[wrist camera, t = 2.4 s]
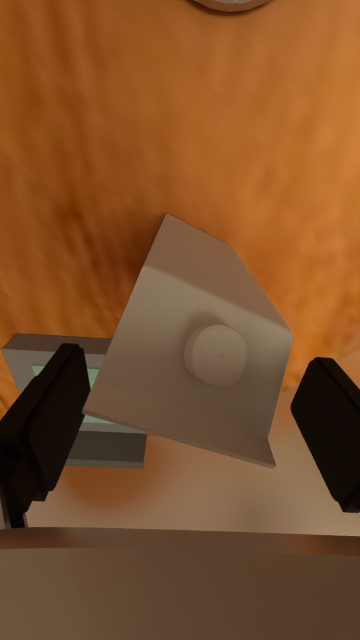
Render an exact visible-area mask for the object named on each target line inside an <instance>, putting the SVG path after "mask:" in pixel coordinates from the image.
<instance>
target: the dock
mask: <svg viewBox="0 0 360 640" xmlns="http://www.w3.org/2000/svg"><path fill="white" fill-rule="evenodd" d="M111 341H112V339H103V338H85V337H68V336H51V335H33V334H16V335H15V336H14V337H13V338H12V339H11V340H10V341H9V342H8V343H7V344H6V345H5V346H4V347H2V348H1V350H2V353H3V355H4V357H5V360H6V362H7V365H8V367H9V369H10V372H11V374H12V377H13V379H14V381H15V384H16V386H17V389H18V391H19V393H20V394H21V393H22V392H23V390H24V389H25V388H26V386H27V385H28V384H29V383H30V381H31V380H32V379H33V378H34V377H35V376H37V375H39V373H40V372H41V371H42V369H43V368H44V367H45V365H46V364H47V363H48V361H49V360H50V359H51V357H52V356H53V355H54V353H55V352H56V351H57V349H58V348H59V347H60V345H61V344H62V343H73V344H79V346H80V348H83V349H84V353H85V359H86V365H87V371H88V376H89V382H90V388H91V389H92V386H93V384H94V382H95V379H96V377H97V375H98V372H99V370H100V367H101V365H102V363H103V360H104V358H105V355H106V353H107V351H108V348H109V346H110V343H111ZM146 439H147V432H144V431H140V430H137V429H133V428H130V427H126V426H123V425H119V424H116V423H112V422H109V421H105V420H102V419H99V418H95V417H92V416H88V415H85V417H84V420H83V422H82V424H81V427H80V429H79V432H78V434H77V436H76V439H75V441H74V444H73V446H72V448H71V451H70V453H69V456H68V458H67V460H66V463H65V465H67V466H90V467H114V468H138V469H139V468H140V469H142V468H143V462H144V454H145V447H146Z"/></svg>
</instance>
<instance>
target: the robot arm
mask: <svg viewBox="0 0 360 640" xmlns="http://www.w3.org/2000/svg"><path fill="white" fill-rule="evenodd" d="M194 1H196V2H198V3H200V4H202V5H204V6H206V7H208V8H211V9H215V10H221V11H227V12H234V11H242V10H249V9H252V8H254V7H257V6H259V5H261V4H264V3H266V2H269V1H270V0H194ZM90 391H91V388H90V382H89V376H88V371H87V365H86V359H85V353H84V349H83V348H80V346H79V344H73V343H62V344H61V345H60V347H59V348H58V349H57V351H56V352H55V353H54V355H53V356H52V357H51V359H50V360H49V361H48V363H47V364H46V365H45V367H44V368H43V369H42V371H41V372H40V373H39V375H37V376H35V377H34V378H33V379H32V380H31V381H30V383H29V384H28V385H27V386H26V388H25V389H24V390H23V392H22V393H21V394H20V396H19V397H18V398H17V400H16V401H15V402H14V403H13V405H12V406H11V407H10V409H9V410H8V411H7V413H6V414H5V415H4V417H3V418H2V419H1V420H0V640H360V537H359V536H333V535H332V536H331V535H307V534H282V533H281V534H280V533H253V532H223V531H193V530H159V529H157V530H156V529H124V528H78V527H76V528H75V527H74V528H72V527H71V528H70V527H29V528H28V524H27V519H26V515H25V512H27V511H28V509H29V506H30V505H31V502H32V501H45V499H46V496H47V494H48V492H49V491H53V490H54V488H55V487H56V484H57V482H58V480H59V477H60V475H61V472H62V470H63V468H64V465H65V463H66V460H67V458H68V456H69V453H70V451H71V448H72V446H73V444H74V441H75V439H76V436H77V434H78V432H79V429H80V427H81V424H82V422H83V420H84V417H85V414H83V413H82V410H83V408H84V405H85V403H86V400H87V398H88V396H89V393H90ZM291 412H292V415H293V417H294V419H295V421H296V423H297V425H298V427H299V429H300V431H301V433H302V436H303V438H304V439H305V442H306V444H307V446H308V448H309V450H310V452H311V454H312V456H313V458H314V460H315V462H316V465H317V467H318V469H319V471H320V473H321V475H322V477H323V479H324V481H325V483H326V485H327V487H328V489H329V491H330V493H331V495H332V497H333V498H334V499H335V501H337V502H338V503H339V505H340V507H341V509H342V511H343V512H349V513H359V512H360V389H359V388H358V387H357V386H356V385H355V384H354V382H353V381H352V380H351V379H350V378H349V377H348V375H347V374H346V373H345V372H344V371H343V370H342V369H341V367H340V366H339V365H338V364H337V363H336V362H335V360H333V359H332V358H323V357H316V358H314V360H312V361H310V362H309V364H308V367H307V369H306V371H305V374H304V376H303V378H302V380H301V383H300V385H299V387H298V389H297V392H296V394H295V396H294V399H293V401H292V403H291Z"/></svg>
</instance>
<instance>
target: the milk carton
mask: <svg viewBox="0 0 360 640" xmlns="http://www.w3.org/2000/svg"><path fill="white" fill-rule="evenodd" d="M292 340H293V334H292V332H291V330H290V329H289V327H288V326H287V324H286V322H285V321H284V320H283V318H282V317H281V315H280V314H279V313H278V311H277V310H276V308H275V307H274V305H273V304H272V303H271V301H270V300H269V298H268V297H267V296H266V294H265V293H264V291H263V290H262V289H261V287H260V286H259V284H258V283H257V282H256V280H255V279H254V277H253V276H252V275H251V273H250V272H249V270H248V269H247V268H246V266H245V265H244V263H243V262H242V261H241V259H240V258H239V256H238V255H237V254H236V252H235V251H234V249H233V248H232V247H231V246H229V245H228V244H226V243H224V242H222V241H220V240H218V239H216V238H214V237H212V236H210V235H209V234H207V233H205V232H203V231H201V230H199V229H197V228H195V227H193V226H191V225H189V224H187V223H185V222H184V221H182V220H180V219H178V218H176V217H174V216H172V215H170V214H166V215H165V217H164V219H163V221H162V224H161V226H160V228H159V230H158V233H157V235H156V237H155V240H154V242H153V244H152V246H151V249H150V251H149V253H148V256H147V258H146V260H145V262H144V265H143V267H142V269H141V272H140V274H139V276H138V279H137V281H136V284H135V286H134V288H133V291H132V293H131V296H130V298H129V300H128V303H127V305H126V308H125V310H124V312H123V315H122V317H121V320H120V322H119V324H118V327H117V329H116V331H115V334H114V336H113V339H112V341H111V343H110V346H109V348H108V351H107V353H106V355H105V358H104V360H103V363H102V365H101V367H100V370H99V372H98V375H97V377H96V379H95V382H94V384H93V386H92V389H91V391H90V393H89V396H88V398H87V400H86V403H85V405H84V408H83V410H82V413H83V414H85V415H88V416H92V417H95V418H99V419H102V420H105V421H109V422H112V423H116V424H119V425H123V426H126V427H130V428H133V429H137V430H140V431H144V432H147V433H150V434H154V435H157V436H161V437H164V438H168V439H171V440H175V441H178V442H182V443H185V444H189V445H192V446H196V447H199V448H202V449H206V450H209V451H213V452H216V453H220V454H223V455H227V456H230V457H234V458H237V459H241V460H244V461H247V462H251V463H254V464H258V465H261V466H265V467H268V468H272V469H273V468H274V467H275V466H276V464H275V461H274V458H273V455H272V451H271V449H270V446H269V442H268V435H269V432H270V427H271V423H272V420H273V416H274V411H275V408H276V404H277V400H278V396H279V392H280V388H281V384H282V380H283V376H284V372H285V368H286V364H287V361H288V357H289V353H290V349H291V345H292Z"/></svg>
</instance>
